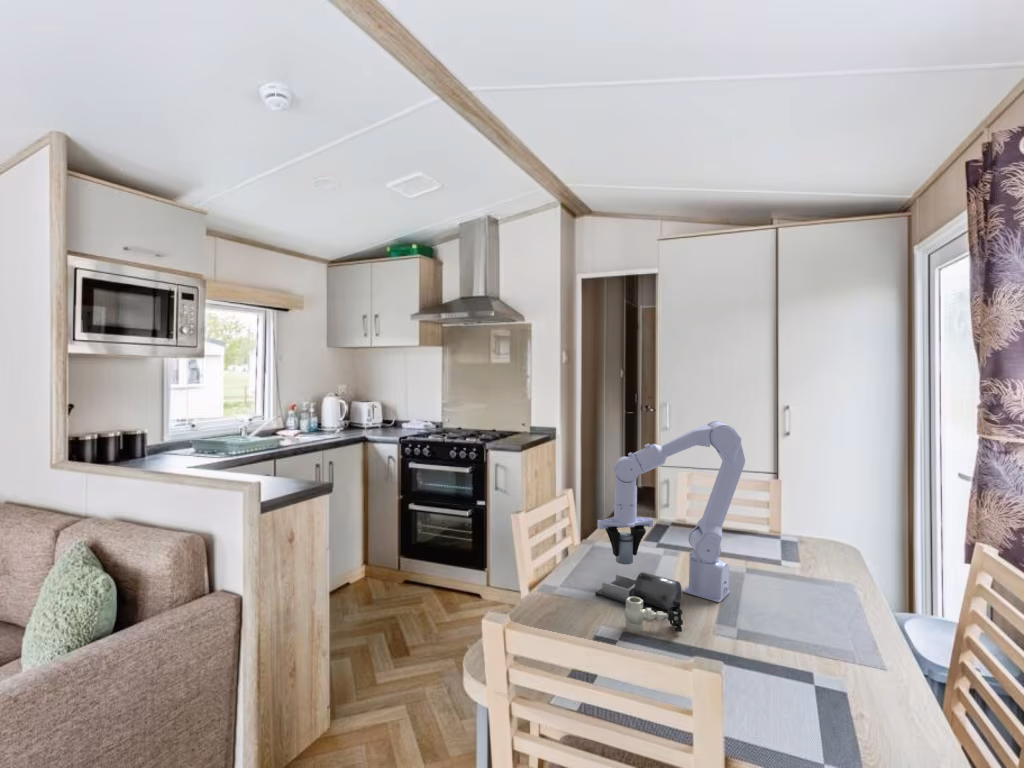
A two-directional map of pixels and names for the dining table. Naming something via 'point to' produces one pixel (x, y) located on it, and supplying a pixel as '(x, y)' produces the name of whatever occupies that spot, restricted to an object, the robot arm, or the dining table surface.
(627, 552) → the banded grey cylinder
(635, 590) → the motor
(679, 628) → the valve
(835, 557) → the dining table surface
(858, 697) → the dining table surface
